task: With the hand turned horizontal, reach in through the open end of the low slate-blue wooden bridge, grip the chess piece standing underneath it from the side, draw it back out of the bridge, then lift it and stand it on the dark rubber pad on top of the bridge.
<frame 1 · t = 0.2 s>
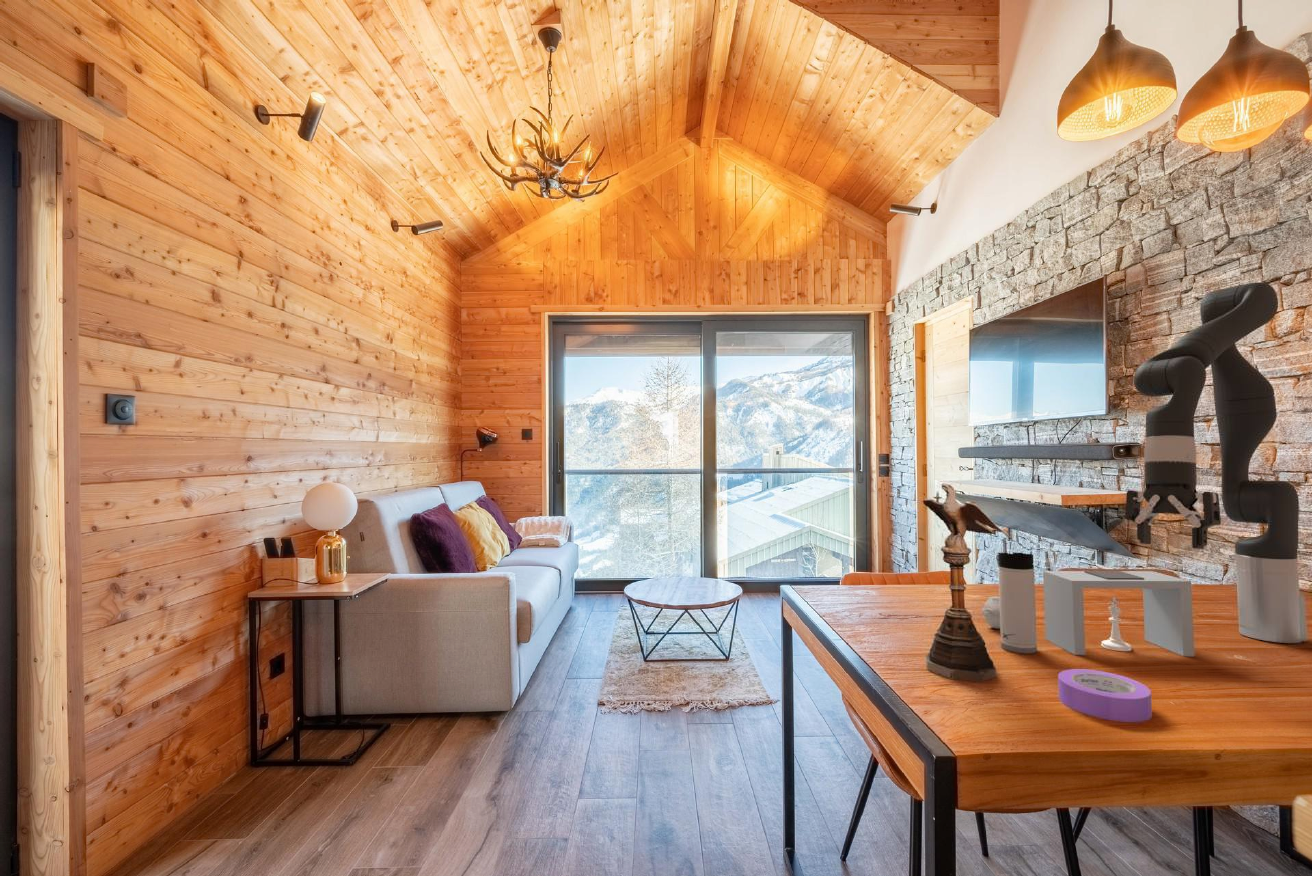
hand: (1170, 546, 111), 22 cm above the table, tool pointing down, fingers open, 8 cm apart
masking tape: (1103, 708, 92), on the table
pad: (1113, 575, 120), resting on bridge
bridge: (1116, 647, 119), on the table
travel mug: (1019, 650, 119), on the table
chess piece: (1116, 648, 119), on the table
frog figurine: (997, 628, 134), on the table
bird statue: (964, 666, 110), on the table
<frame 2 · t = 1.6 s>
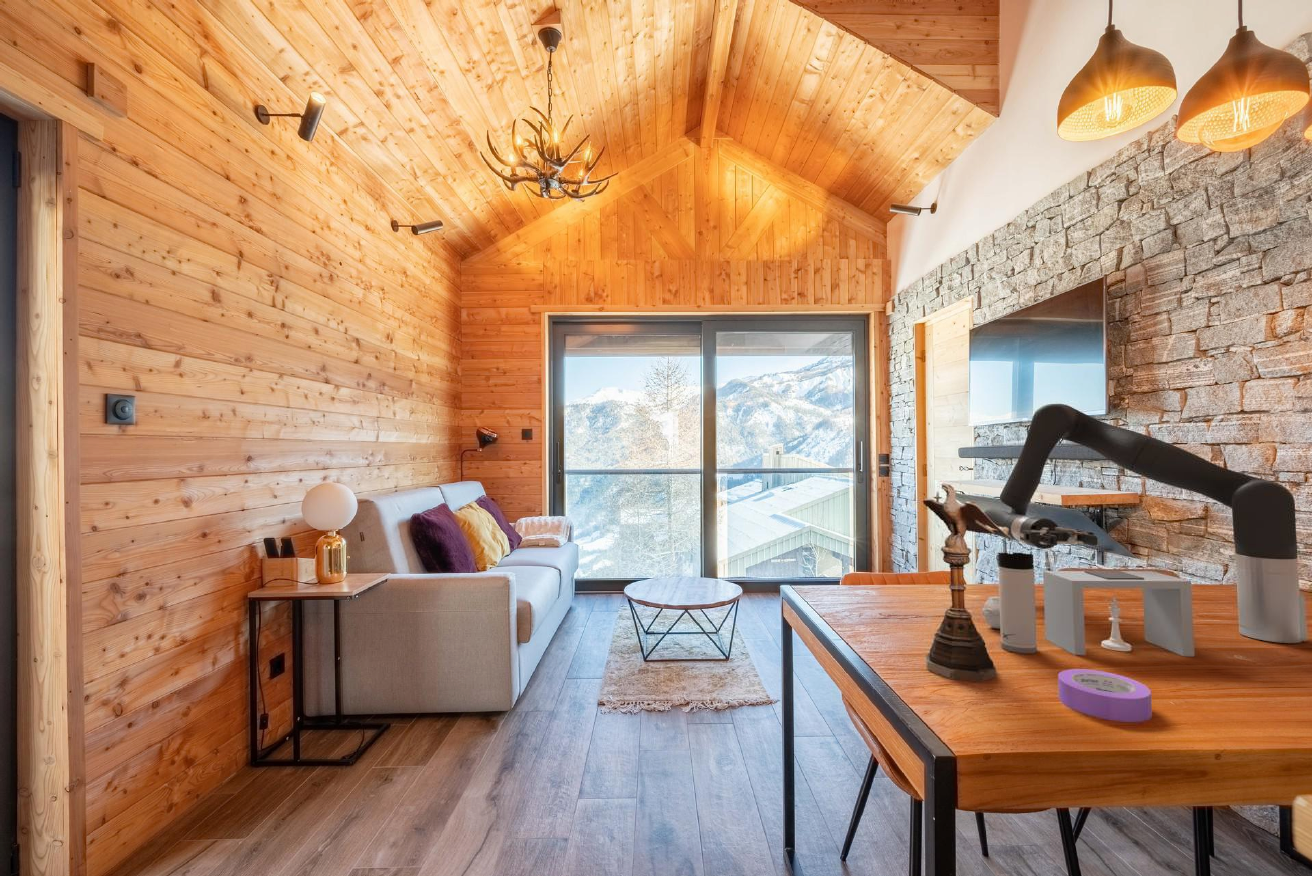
hand: (1075, 540, 132), 20 cm above the table, tool horizontal, fingers open, 8 cm apart
nothing on the table moved.
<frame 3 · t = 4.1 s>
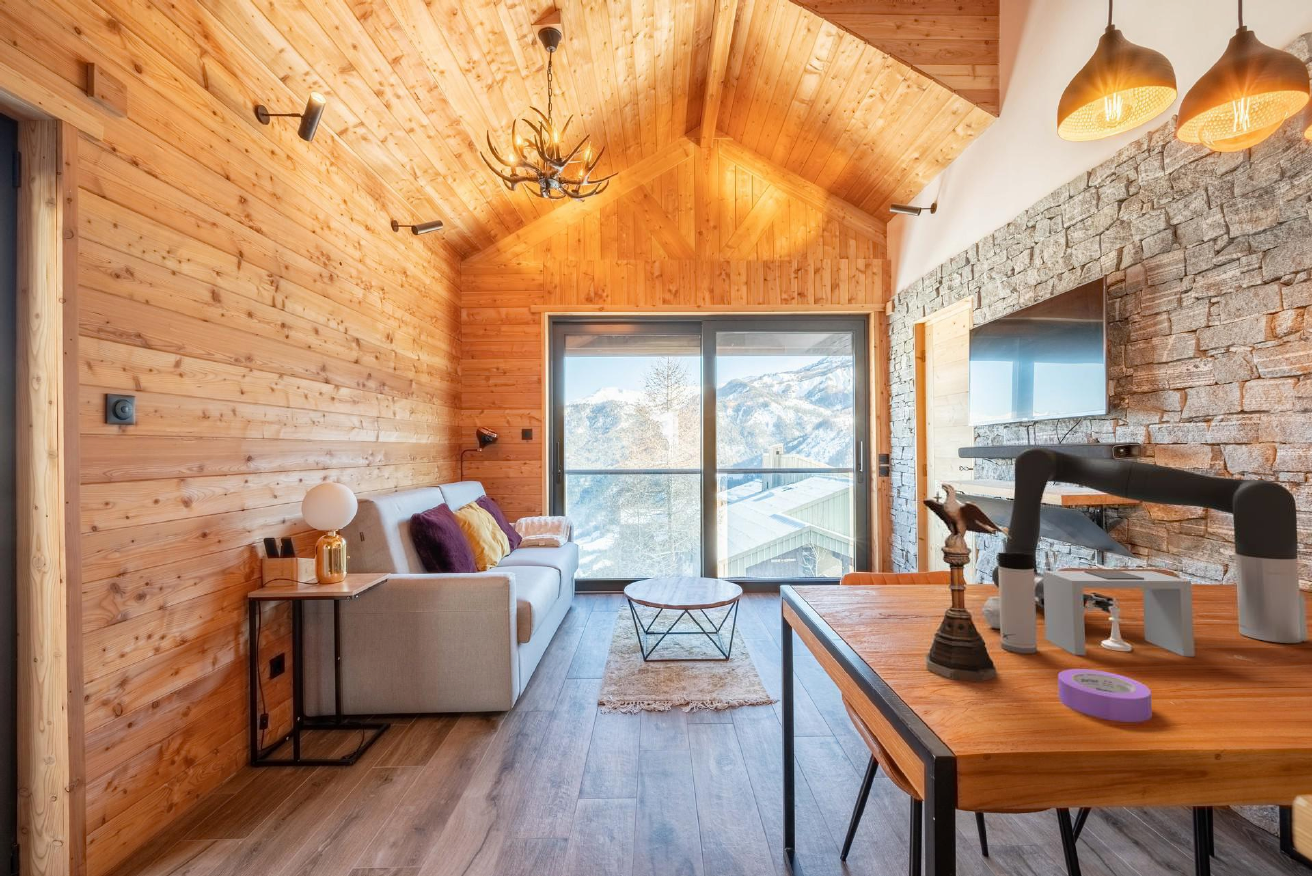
hand: (1093, 609, 126), 6 cm above the table, tool horizontal, fingers open, 8 cm apart
nothing on the table moved.
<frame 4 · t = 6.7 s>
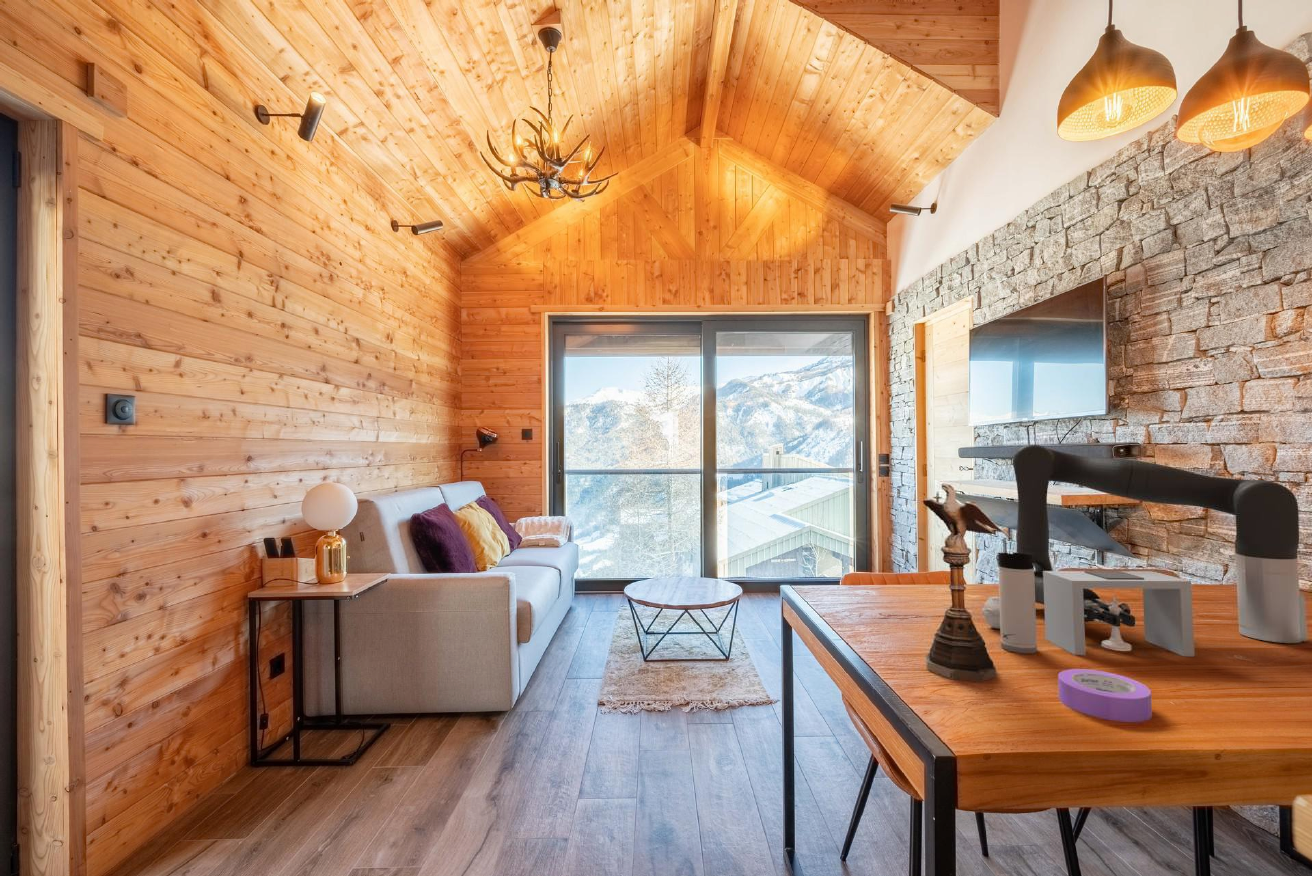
hand: (1125, 621, 117), 6 cm above the table, tool horizontal, fingers closed on chess piece
chess piece: (1116, 648, 119), on the table, touching gripper
everything else where it was.
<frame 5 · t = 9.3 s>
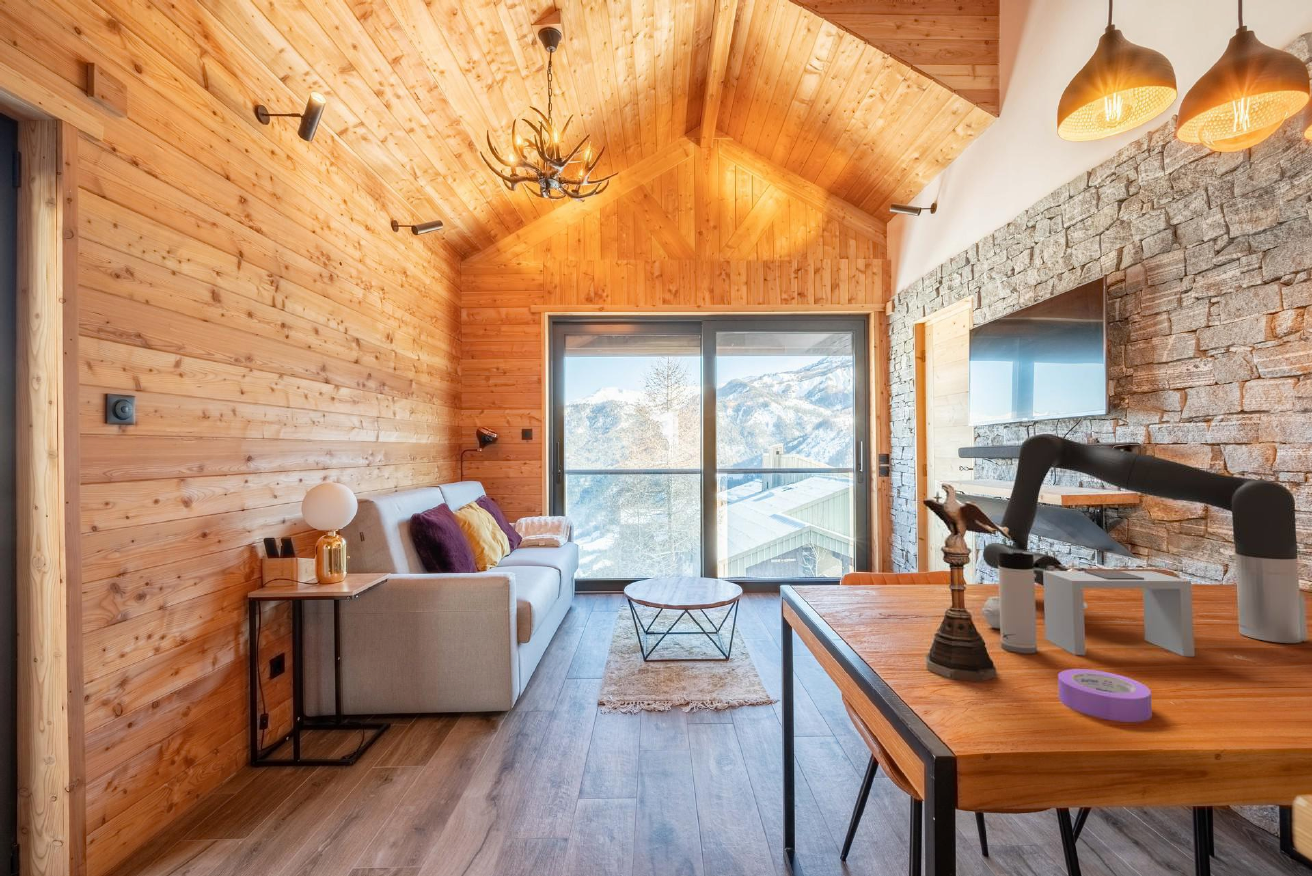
hand: (1081, 582, 131), 11 cm above the table, tool horizontal, fingers closed on chess piece
chess piece: (1074, 607, 133), point 5 cm above the table, touching gripper
everything else where it was.
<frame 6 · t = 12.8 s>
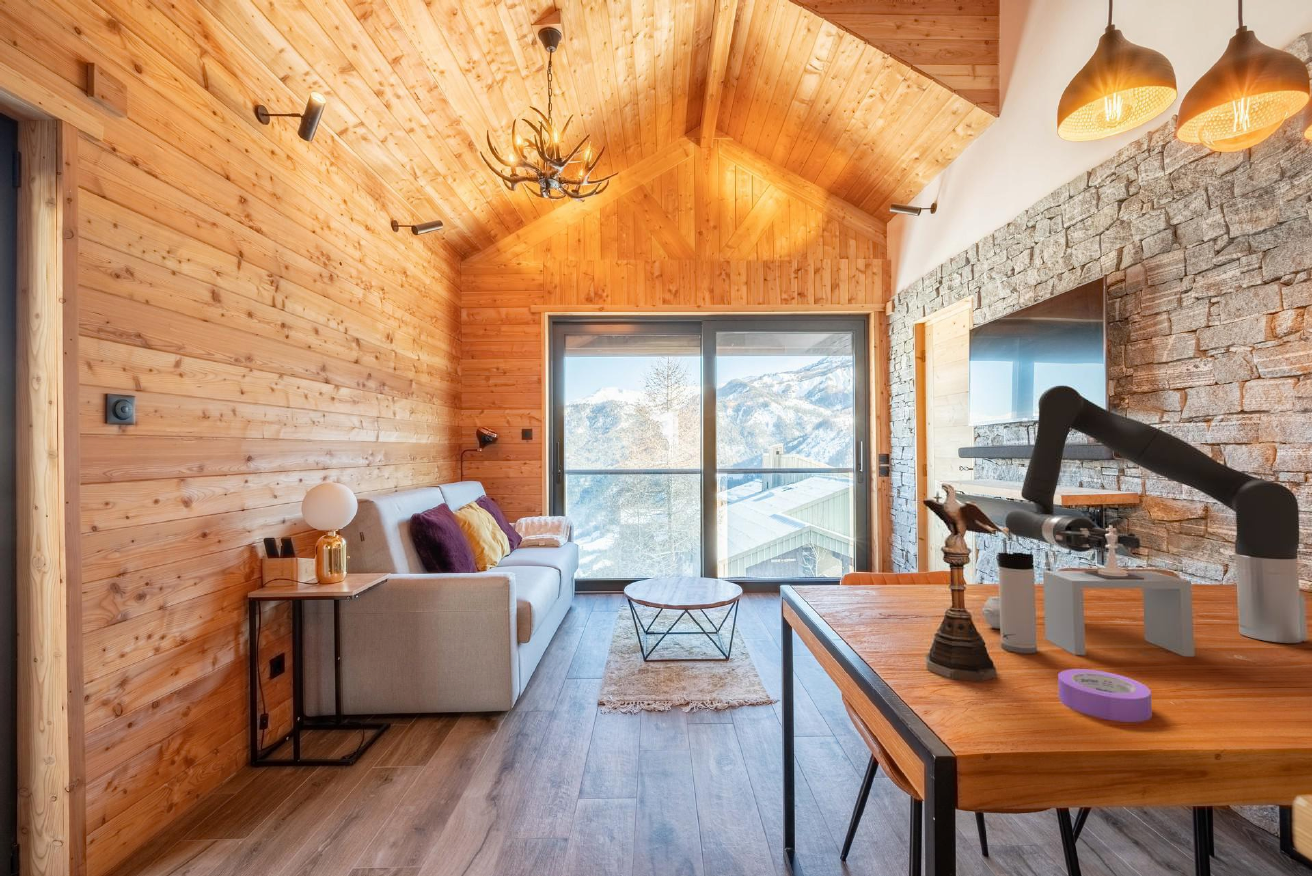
hand: (1120, 543, 118), 22 cm above the table, tool horizontal, fingers open, 6 cm apart
chess piece: (1112, 575, 120), point 15 cm above the table, touching pad
everything else where it was.
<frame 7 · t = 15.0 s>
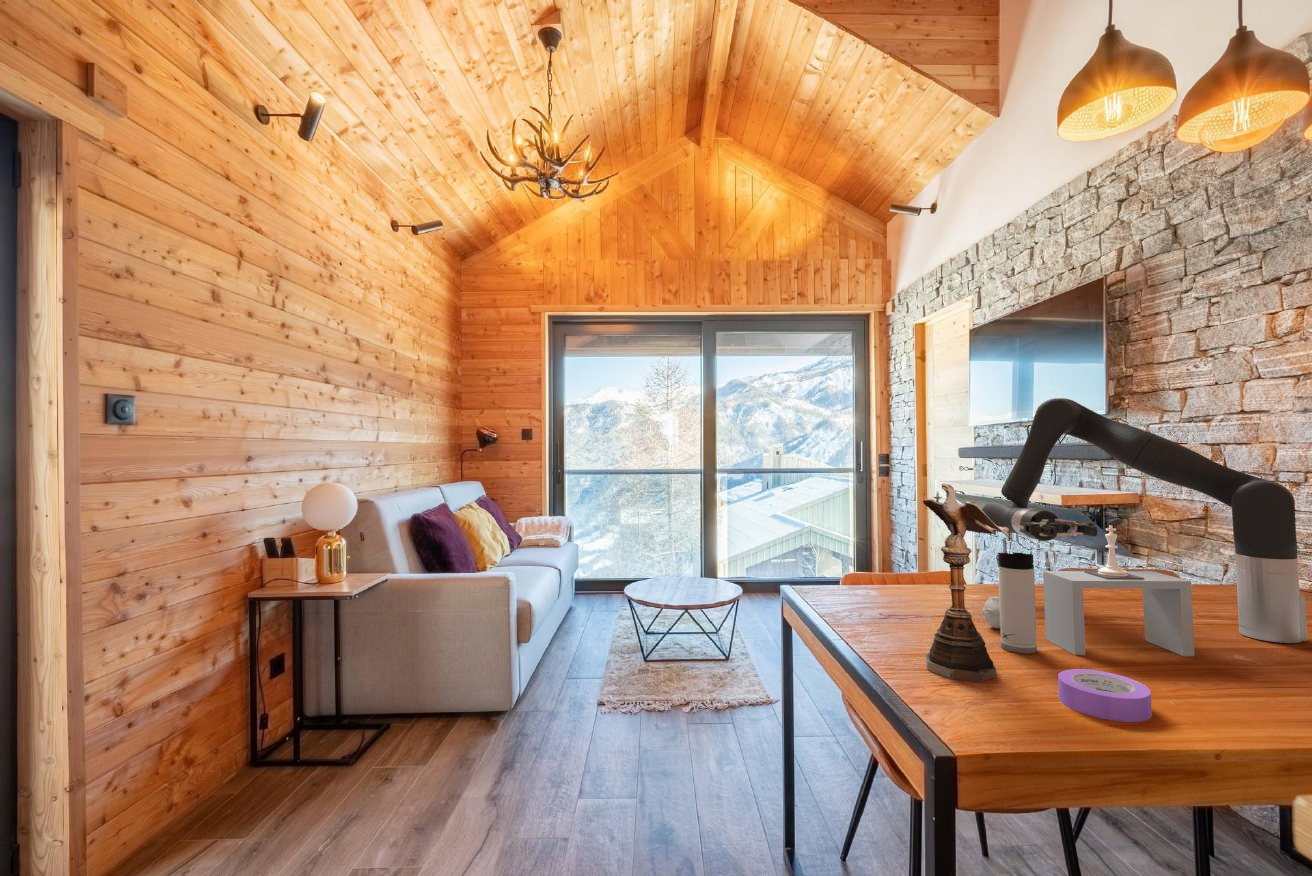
hand: (1075, 531, 132), 22 cm above the table, tool horizontal, fingers open, 8 cm apart
nothing on the table moved.
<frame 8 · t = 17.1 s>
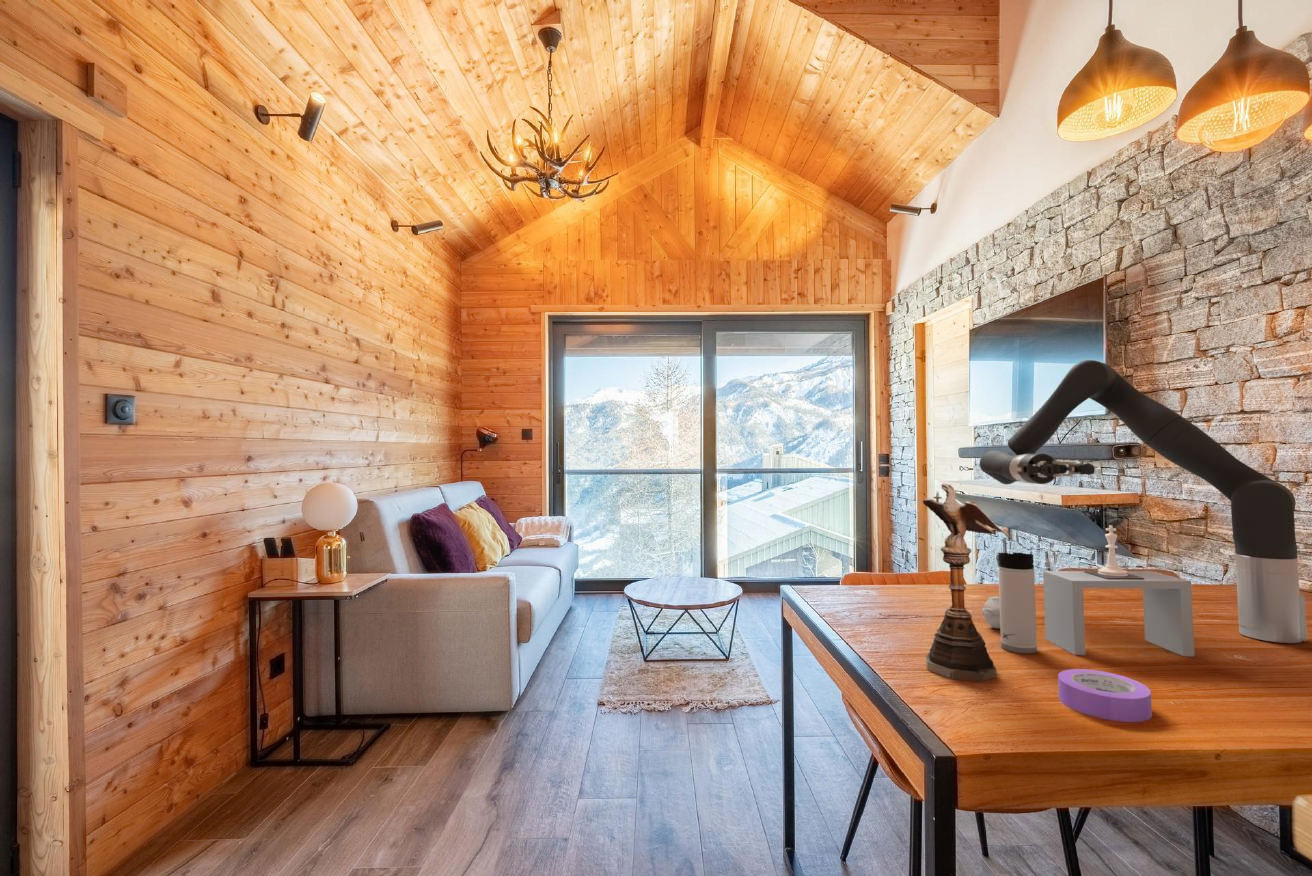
hand: (1072, 469, 133), 36 cm above the table, tool horizontal, fingers open, 8 cm apart
nothing on the table moved.
at the end: chess piece inside the target area (0.1 cm from its centre), point 14.6 cm above the table; chess piece tilted 0°; the gripper is holding nothing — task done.
